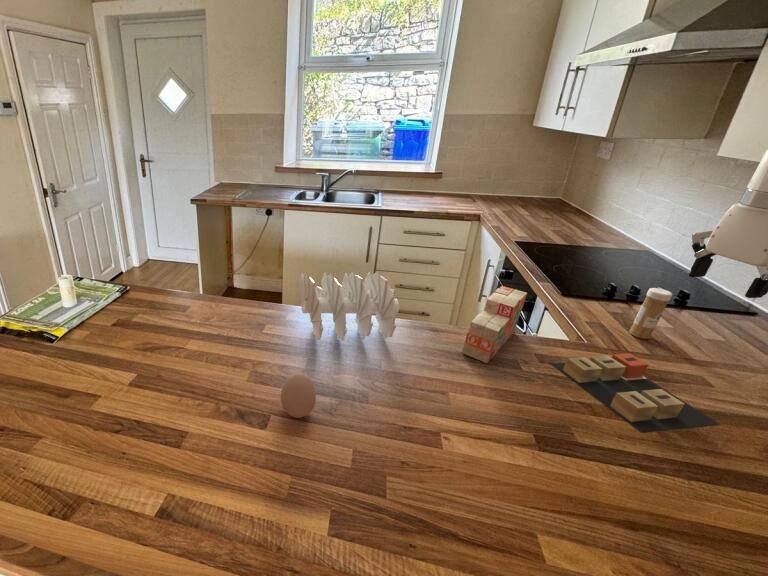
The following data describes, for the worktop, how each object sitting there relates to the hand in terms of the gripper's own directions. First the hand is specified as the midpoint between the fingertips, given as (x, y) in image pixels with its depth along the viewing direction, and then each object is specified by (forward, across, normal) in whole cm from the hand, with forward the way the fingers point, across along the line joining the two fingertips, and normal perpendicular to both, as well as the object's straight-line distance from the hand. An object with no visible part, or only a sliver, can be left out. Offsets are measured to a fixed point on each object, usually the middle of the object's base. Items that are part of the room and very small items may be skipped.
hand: (723, 286), depth 80 cm
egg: (+24, 0, +86) cm, 89 cm away
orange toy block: (+24, +4, +7) cm, 25 cm away
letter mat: (+24, -2, +13) cm, 28 cm away
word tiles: (+24, -2, +16) cm, 29 cm away
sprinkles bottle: (+24, +19, -14) cm, 34 cm away
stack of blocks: (+24, +20, +30) cm, 44 cm away
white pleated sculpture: (+24, +28, +66) cm, 76 cm away
